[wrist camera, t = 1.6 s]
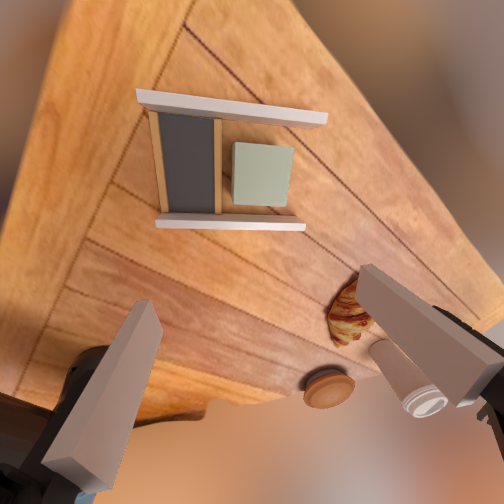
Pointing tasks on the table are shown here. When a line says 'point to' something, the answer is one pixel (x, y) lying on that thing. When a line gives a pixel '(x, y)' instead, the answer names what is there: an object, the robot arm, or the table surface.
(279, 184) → the block
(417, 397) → the coffee cup
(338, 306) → the croissant
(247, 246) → the table surface
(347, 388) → the pie
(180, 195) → the drawer
